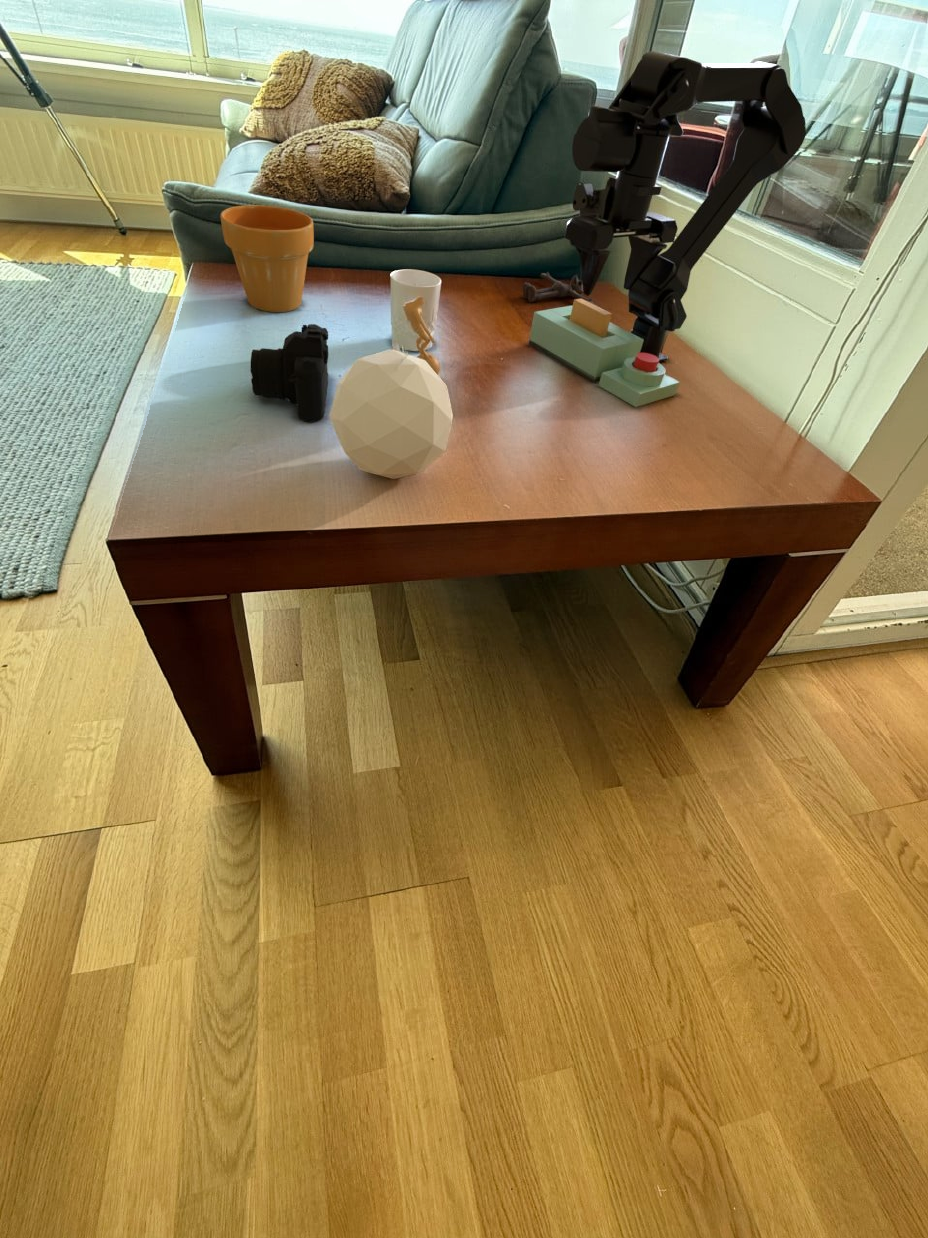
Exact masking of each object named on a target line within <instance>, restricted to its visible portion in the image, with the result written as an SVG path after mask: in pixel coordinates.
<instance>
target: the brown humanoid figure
mask: <svg viewBox="0 0 928 1238" xmlns="http://www.w3.org/2000/svg"><path fill="white" fill-rule="evenodd" d="M540 277H541V278H542V279H543V280H545V281H547V282H549V283H551V284H552V286H551V287H544V288H540V289H537V288H536V287H535V285H532V284H531V283H530V282H523V284H522V297H523V299H525V300H528V302H529V303H533V302H535V301H539V300H542V301H543V300H545V299H548V298H553V297H555V298H558V299H559V298H560V299H561V298H564V297H572V298H574V299H581V298H582V299H584V300H586V301H588V302H590V303H592V304H594V305H596V304H595V302H593V297H592V298H591V297H590V298H587V297H585V296H583V295H582V294H584V293H583V282H582V280H581V279H579V278H578V277H579V275H578V274H575V275H573V276H572V277H571V280H570V283H567V282H565V281H561V280H560V281H559V280H557V279H555V278H553V277H552V276H551V275H550V273H549V271H547V272H546V273H545V272H541V273H540Z"/></svg>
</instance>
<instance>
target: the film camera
mask: <svg viewBox="0 0 928 1238" xmlns="http://www.w3.org/2000/svg"><path fill="white" fill-rule="evenodd" d="M328 340H329V331H328V329H327V328H326V327H322V326H320V325H318V324H316V323H309V324H308V325H306V324H302V326H301V331H297V330H296V331H293V332H292V333H290V334H288V335H287V336H286V337H285V338H284V341H283V345H282V347H281V348H279V347H278V349H277V348H276V349H275V348H274V349H272V348H263V347H262V348H260V349H252V350H251V353H250V354H251V355H250V374H251V379H250V380H251V387H252V388H251V389H252V393H253V395H254V396H256V397H257V396H259V397H262V398H263V399H277V400H280V401H285V400H288V402H289V403H290V404H291V405H296V411H297V412H296V414H297V418H298V420H300V421H302V422H306V423H307V422H308V423H315V422H319V421H321V420H322V419H324V417H325V413H326V403H327V395H328V385H329V371H328V362H329V345H328Z"/></svg>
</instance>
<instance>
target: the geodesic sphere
mask: <svg viewBox="0 0 928 1238" xmlns="http://www.w3.org/2000/svg"><path fill="white" fill-rule="evenodd" d="M391 345H392V348H390V349H386V350H383V351H379V352H377V353H373V354H369V355H365V356H362V357H359V358H357V359H356V360H355V361H354V362H353V364H352V365H350V367H348V369H347V371H345V373H344V374H343V375H342V376H341V378H340V379H339V380H338V382H337V385H336V388H335V393H334V397H333V401H332V403H331V404H332V405H331V408H330V412H329V415H328V418H329V420H330V422H331V424H332V426H333V429H334V431H335V434H336V435H337V439H338V441H339V443H340V445H341V448H342V450H343V452H344V454H345V455H346V456H347V457H348V458H349V459H350V460H351V461H352V463H354V465H355V466H357V467H358V468H359V470H360V471H361V472H365V473H369V474H371V475H377V476H381V477H384V478H389V479H392V480H396V479H400V478H404V477H408V476H413V475H417V474H419V473H421V472H422V471H425V470H426V469H427V468H428V467H429V466H430V465H431V464H433V463H434V462H435V461H436V460H437V459H438V458H440V457H441V456H442V455H443V454H444V453H445V452H446V451H447V447H448V441H449V438H450V433H451V428H452V425H453V424H452V423H453V419H454V414H453V410H452V409H453V408H452V404H451V399H450V394H449V390H448V386H447V385H446V383H445V382H444V381H443V380H442V379H441V377H440V376H439V374H438V375H437V374H436V373H435V371H434V370H433V369H432V368H431V367H430V365H429V364H428V363H427V362H426V361H425V360H423V359H420V358H417V356H414V355H410V354H408V353H409V350H406V349H403V345H402V348H400V347H399V344H398V343H397V345H396V343H394V344H393V342H391Z"/></svg>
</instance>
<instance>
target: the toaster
mask: <svg viewBox="0 0 928 1238" xmlns="http://www.w3.org/2000/svg"><path fill="white" fill-rule="evenodd" d="M572 307H573V304H572V305H566V306H562V307H561V306H560V307H555V308H549V309H543V310H537V311H534V312H533V317H532V323H531V327H530V333H529V338H528V343H527V345H528V346H529V347H532V348H533V349H535V350H537V351H538V352H539V353H541V354H544V355H546V356H547V357H548V358H550V359H552V360H554V361H556V362H557V363H558V364H561V365H562V366H564V367H566V368H568V369H569V370H571V371H573V372H574V373H576V374H578V375H579V376H581V377H583V378H584V379H586V380H588V381H590V382H591V383H593V384H594V383H598V382H600V379H601V375H602V372H606V371H610V370H614V369H618V368H622V367H623V364H624V361H625V360H626V359H627V358H632V357H636V355H637V354H638V353H640V351H641V347H642V344H643V341H644V339H642V338H640V337H638V336H636V335H634V334H632V333H631V331H628V330H626V329H624V328H622V327H620V326H618V325H616V324H614V323H612V322H610V323H609V327H608V330H607V334H606V337H605V338H602V337H600V336H598V335H596V334H594V333H592V332H590V331H589V330H587V329H585V328H583V327H581V326H579V325H577V324H575V323H573V322H571V321H570V316H571V311H572Z"/></svg>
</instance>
